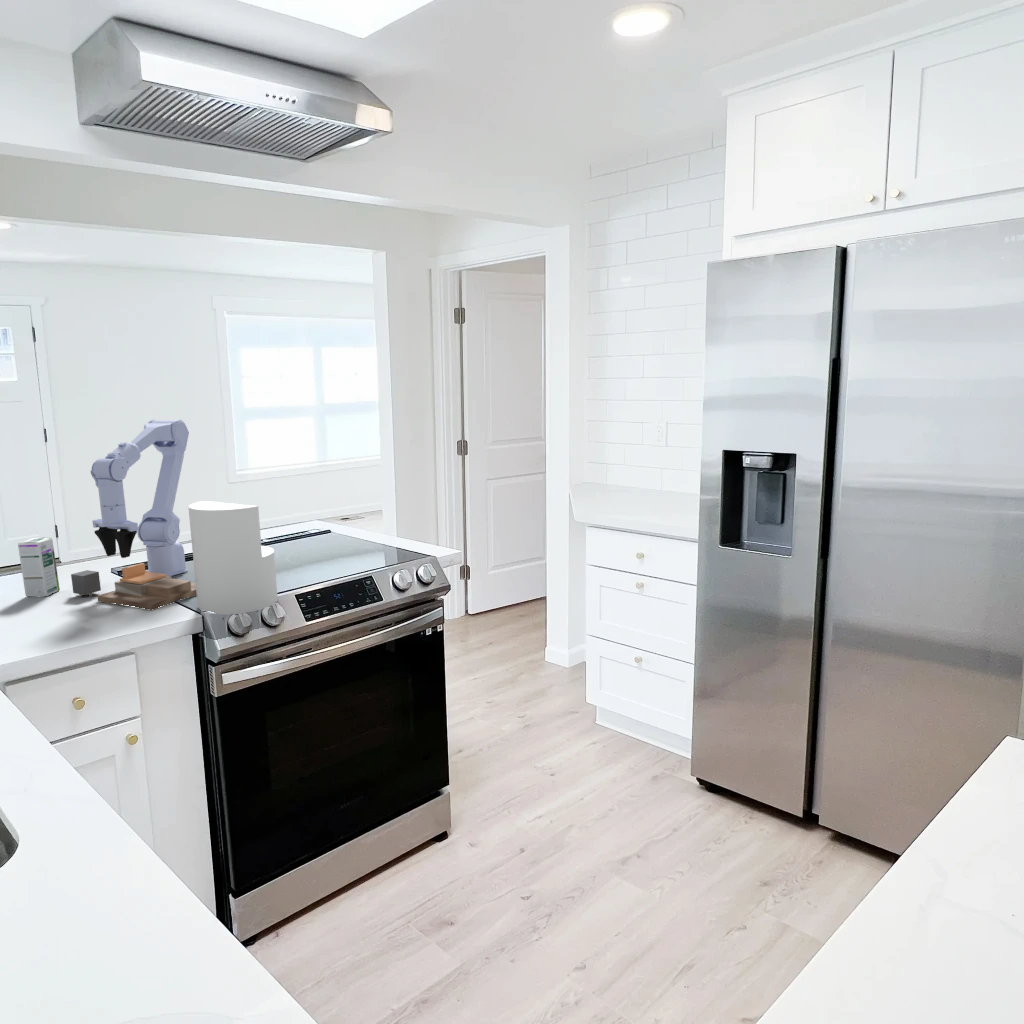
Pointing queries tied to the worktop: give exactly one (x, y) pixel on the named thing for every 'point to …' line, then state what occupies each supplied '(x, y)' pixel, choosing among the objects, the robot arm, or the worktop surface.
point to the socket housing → (150, 593)
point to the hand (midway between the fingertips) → (118, 556)
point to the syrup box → (38, 566)
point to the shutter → (139, 574)
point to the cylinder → (231, 558)
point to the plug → (85, 582)
